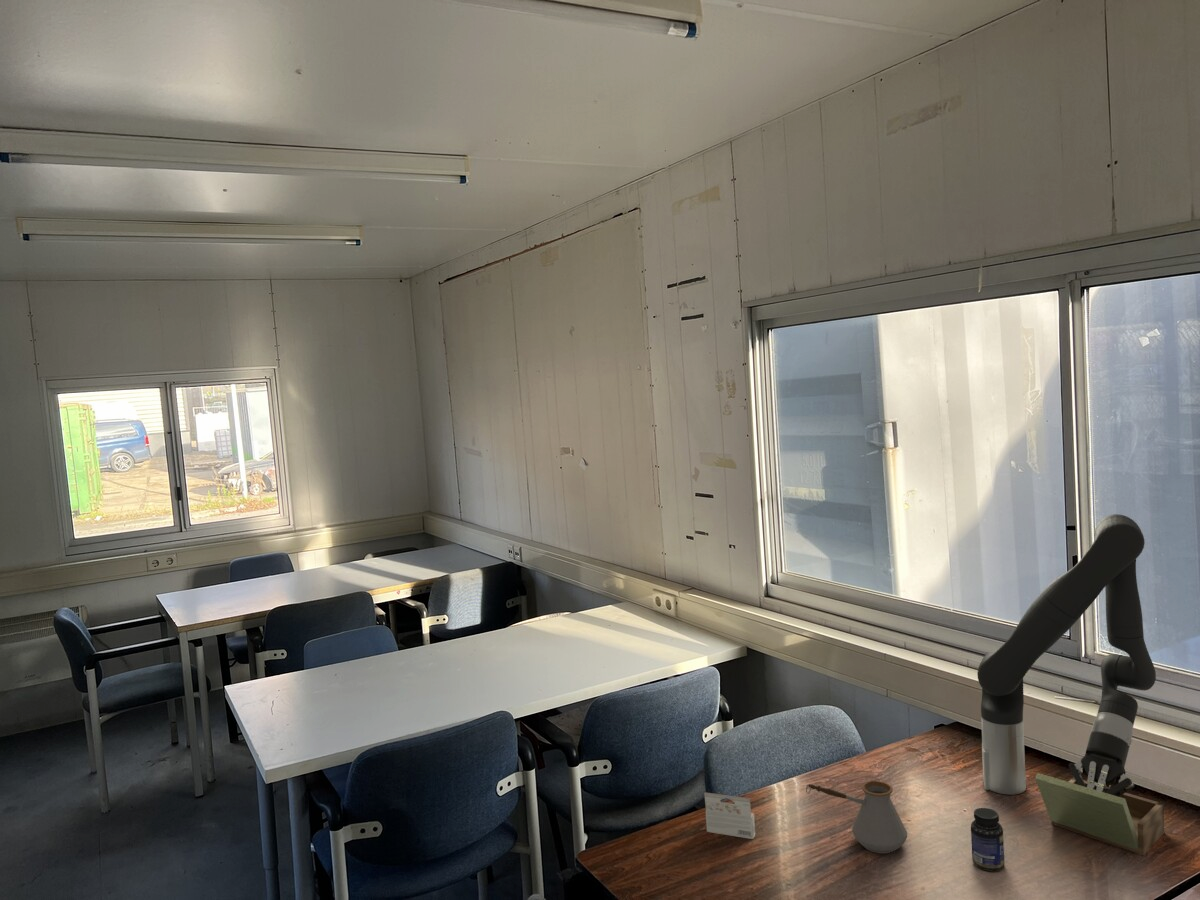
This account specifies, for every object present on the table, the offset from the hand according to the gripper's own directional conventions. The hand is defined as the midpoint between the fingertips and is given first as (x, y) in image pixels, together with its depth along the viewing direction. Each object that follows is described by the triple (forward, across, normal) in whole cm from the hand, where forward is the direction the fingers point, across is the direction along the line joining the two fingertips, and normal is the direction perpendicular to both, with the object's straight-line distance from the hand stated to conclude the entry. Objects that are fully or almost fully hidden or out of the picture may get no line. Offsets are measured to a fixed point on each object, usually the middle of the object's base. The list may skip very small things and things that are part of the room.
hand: (1090, 814), depth 180 cm
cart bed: (-1, 0, +11) cm, 11 cm away
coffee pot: (+28, -35, -20) cm, 49 cm away
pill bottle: (+20, -12, -11) cm, 25 cm away
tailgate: (+2, 0, +4) cm, 5 cm away
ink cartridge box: (+38, -59, -30) cm, 76 cm away
